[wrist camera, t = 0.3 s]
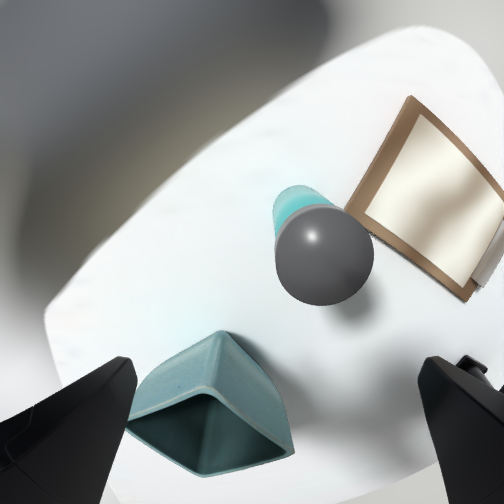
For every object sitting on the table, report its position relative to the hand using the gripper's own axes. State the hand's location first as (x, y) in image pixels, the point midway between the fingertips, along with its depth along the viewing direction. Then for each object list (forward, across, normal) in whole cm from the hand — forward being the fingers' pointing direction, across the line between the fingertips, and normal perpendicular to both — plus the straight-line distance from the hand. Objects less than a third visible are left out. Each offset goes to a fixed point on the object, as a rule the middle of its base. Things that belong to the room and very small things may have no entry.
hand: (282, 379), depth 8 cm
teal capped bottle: (+13, -2, -2) cm, 13 cm away
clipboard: (+13, -14, -3) cm, 19 cm away
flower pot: (+13, +4, +11) cm, 17 cm away
